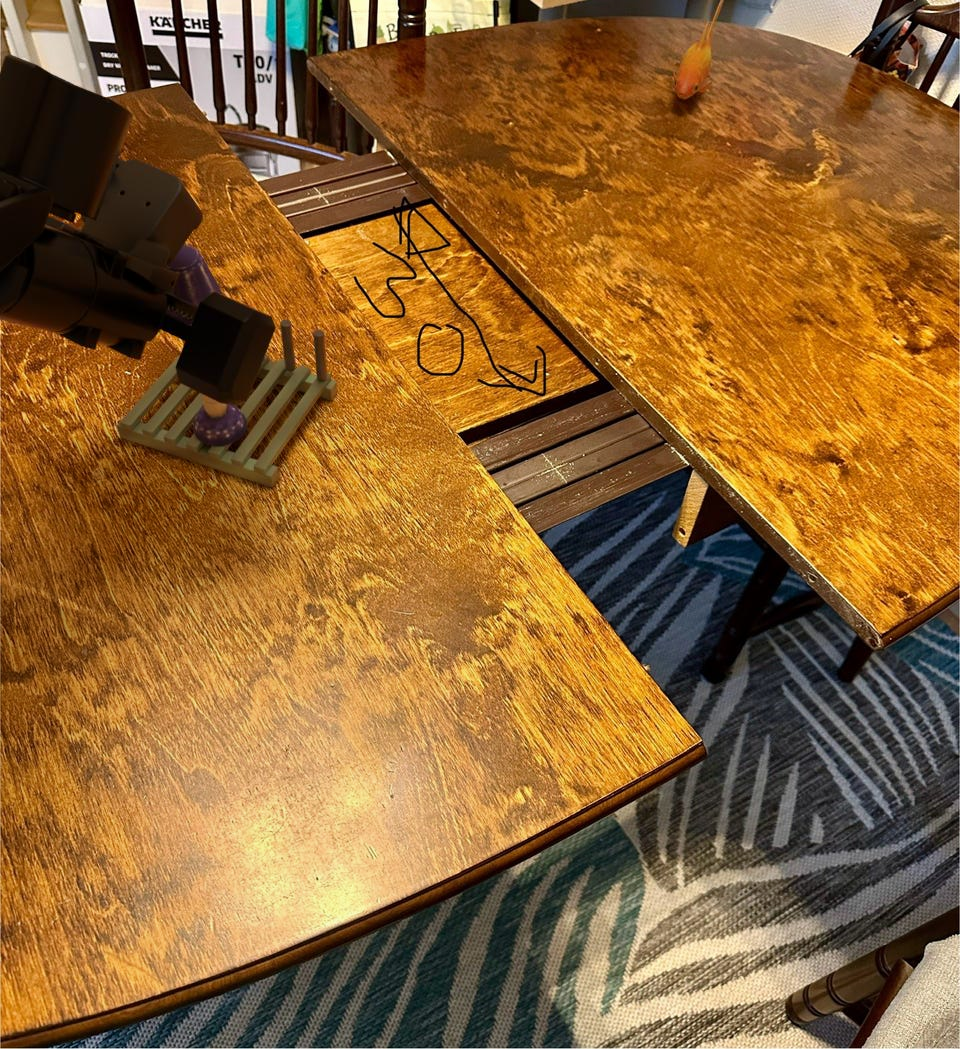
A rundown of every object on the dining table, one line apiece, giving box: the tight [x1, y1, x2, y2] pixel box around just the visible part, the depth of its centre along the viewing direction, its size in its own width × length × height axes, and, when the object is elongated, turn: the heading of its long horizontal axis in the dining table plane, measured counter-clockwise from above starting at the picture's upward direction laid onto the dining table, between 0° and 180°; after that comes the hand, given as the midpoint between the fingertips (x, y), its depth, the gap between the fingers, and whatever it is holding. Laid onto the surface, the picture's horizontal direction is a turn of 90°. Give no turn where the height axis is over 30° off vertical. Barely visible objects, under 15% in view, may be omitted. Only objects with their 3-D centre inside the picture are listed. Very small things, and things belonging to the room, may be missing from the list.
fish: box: [672, 0, 725, 100], centre depth 119 cm, size 22×6×10 cm, turn 159°
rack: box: [115, 319, 339, 489], centre depth 74 cm, size 14×12×7 cm
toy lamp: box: [165, 244, 248, 446], centre depth 66 cm, size 5×5×17 cm
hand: (212, 331), depth 67 cm, fingers open, 9 cm apart
